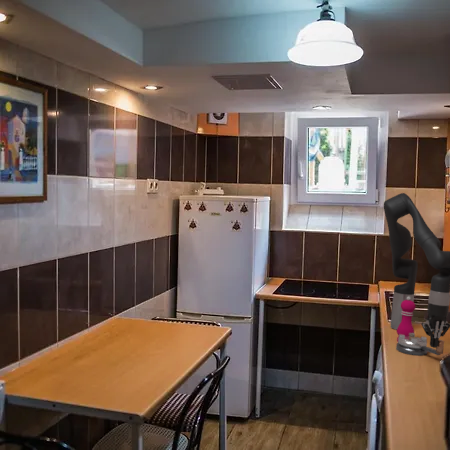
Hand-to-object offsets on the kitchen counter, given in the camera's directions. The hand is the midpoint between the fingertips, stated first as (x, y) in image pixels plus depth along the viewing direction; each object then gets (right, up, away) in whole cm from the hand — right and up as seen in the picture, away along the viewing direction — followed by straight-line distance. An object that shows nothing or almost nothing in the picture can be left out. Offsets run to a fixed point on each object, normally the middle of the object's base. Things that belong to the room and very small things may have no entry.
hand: (433, 347), depth 212 cm
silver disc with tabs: (-4, -4, +13) cm, 14 cm away
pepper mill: (-3, -4, +25) cm, 26 cm away
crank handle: (-2, -3, +9) cm, 10 cm away
